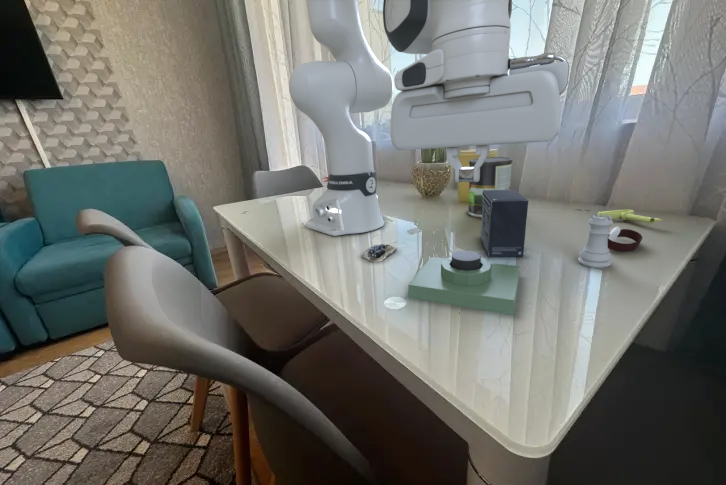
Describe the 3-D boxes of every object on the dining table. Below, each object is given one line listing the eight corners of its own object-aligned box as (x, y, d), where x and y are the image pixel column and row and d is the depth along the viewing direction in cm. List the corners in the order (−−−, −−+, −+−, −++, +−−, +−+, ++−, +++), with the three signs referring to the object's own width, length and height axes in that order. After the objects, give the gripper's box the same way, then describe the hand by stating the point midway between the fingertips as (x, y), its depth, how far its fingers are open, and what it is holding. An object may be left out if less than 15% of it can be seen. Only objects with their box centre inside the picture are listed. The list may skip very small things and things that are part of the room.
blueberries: (399, 247, 67) (398, 239, 67) (393, 263, 60) (392, 253, 59) (368, 247, 69) (367, 239, 68) (358, 262, 62) (357, 253, 61)
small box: (526, 257, 57) (531, 199, 53) (487, 257, 58) (489, 201, 55) (512, 238, 67) (516, 187, 63) (479, 238, 68) (481, 189, 65)
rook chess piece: (571, 262, 53) (577, 215, 51) (589, 256, 55) (596, 211, 52) (599, 271, 50) (607, 221, 47) (617, 265, 51) (626, 216, 48)
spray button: (448, 270, 46) (448, 259, 46) (455, 260, 50) (455, 249, 49) (477, 273, 45) (478, 262, 44) (482, 262, 48) (482, 252, 47)
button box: (408, 298, 47) (407, 273, 46) (430, 268, 56) (430, 247, 55) (513, 315, 41) (515, 287, 39) (519, 279, 50) (521, 255, 48)
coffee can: (472, 219, 82) (473, 163, 77) (464, 209, 92) (465, 159, 87) (515, 216, 81) (518, 159, 76) (502, 207, 90) (505, 155, 86)
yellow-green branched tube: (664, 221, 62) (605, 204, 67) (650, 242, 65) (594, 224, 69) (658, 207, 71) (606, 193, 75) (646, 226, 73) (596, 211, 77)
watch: (618, 239, 61) (621, 220, 60) (648, 245, 57) (652, 226, 56) (594, 248, 58) (597, 229, 57) (625, 256, 54) (629, 235, 53)
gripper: (569, 53, 36) (556, 176, 41) (400, 81, 46) (405, 178, 50) (573, 43, 31) (558, 185, 36) (382, 77, 41) (389, 186, 45)
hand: (467, 181), depth 43 cm, fingers closed
